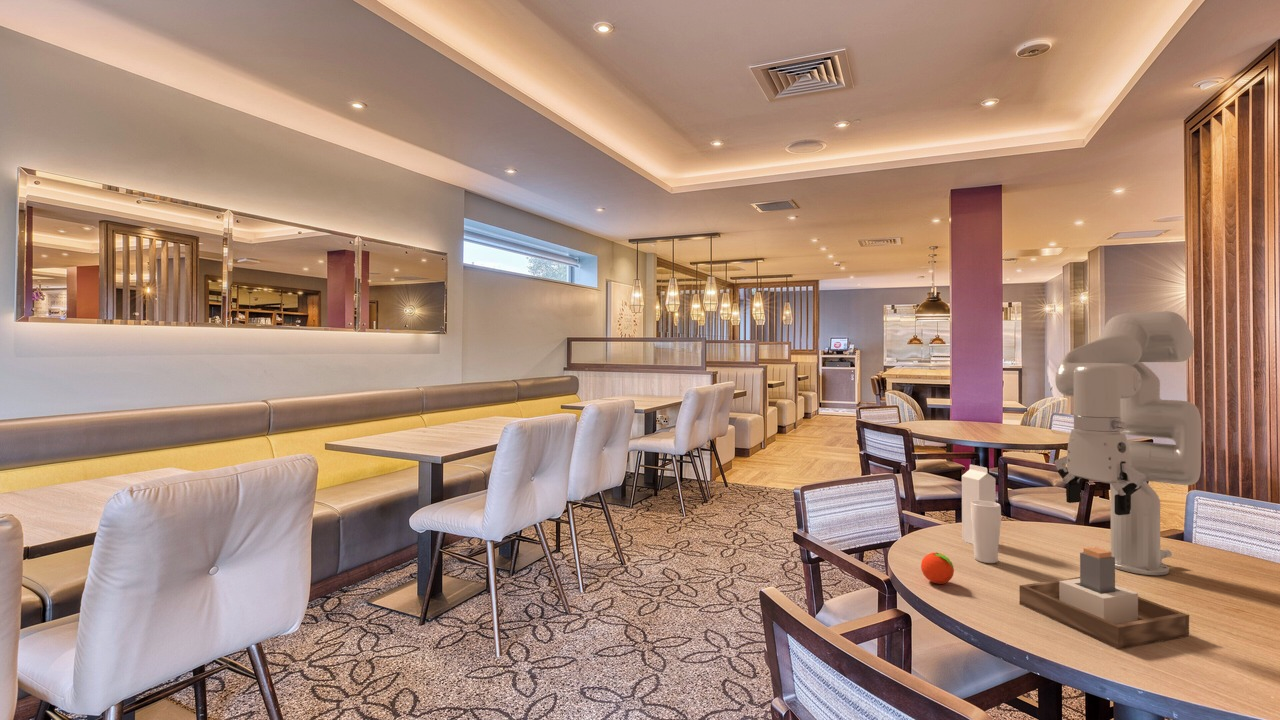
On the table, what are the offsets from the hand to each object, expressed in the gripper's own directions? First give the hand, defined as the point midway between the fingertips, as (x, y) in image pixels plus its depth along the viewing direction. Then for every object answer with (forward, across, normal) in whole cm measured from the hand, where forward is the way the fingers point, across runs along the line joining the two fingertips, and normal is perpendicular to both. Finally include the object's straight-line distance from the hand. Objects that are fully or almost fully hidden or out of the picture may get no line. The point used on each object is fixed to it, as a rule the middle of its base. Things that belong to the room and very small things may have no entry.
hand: (1097, 508), depth 118 cm
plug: (+20, 0, 0) cm, 20 cm away
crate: (+22, -1, +1) cm, 22 cm away
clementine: (+22, +23, +18) cm, 37 cm away
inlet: (+22, 0, 0) cm, 22 cm away
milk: (+22, +44, -15) cm, 51 cm away
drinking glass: (+22, +32, -5) cm, 39 cm away
